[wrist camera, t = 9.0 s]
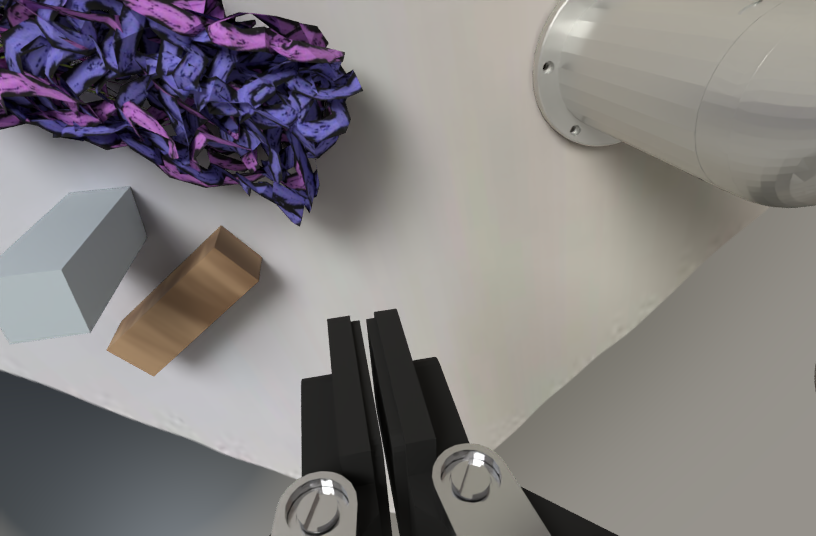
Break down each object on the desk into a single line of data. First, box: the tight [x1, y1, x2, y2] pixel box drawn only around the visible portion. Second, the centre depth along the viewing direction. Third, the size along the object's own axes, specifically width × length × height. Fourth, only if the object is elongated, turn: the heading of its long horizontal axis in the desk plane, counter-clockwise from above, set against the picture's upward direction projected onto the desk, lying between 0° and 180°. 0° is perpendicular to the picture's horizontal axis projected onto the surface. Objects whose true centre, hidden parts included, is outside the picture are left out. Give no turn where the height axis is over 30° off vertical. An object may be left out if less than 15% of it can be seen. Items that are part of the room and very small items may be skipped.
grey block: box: [0, 187, 147, 344], centre depth 31 cm, size 4×4×12 cm
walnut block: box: [107, 226, 262, 376], centre depth 38 cm, size 4×4×12 cm
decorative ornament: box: [0, 0, 363, 227], centre depth 27 cm, size 13×11×30 cm
